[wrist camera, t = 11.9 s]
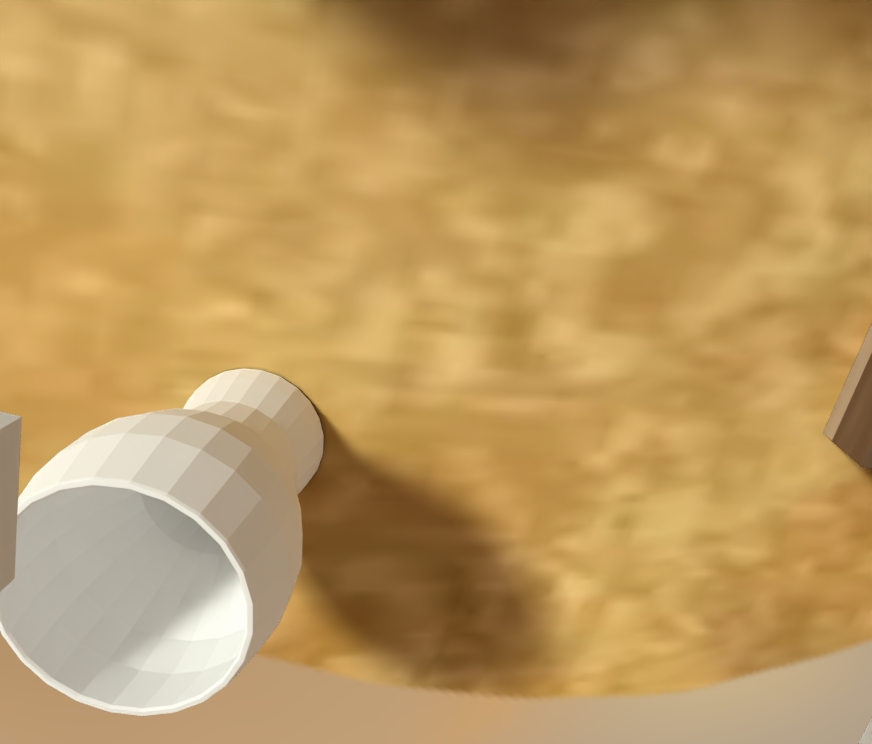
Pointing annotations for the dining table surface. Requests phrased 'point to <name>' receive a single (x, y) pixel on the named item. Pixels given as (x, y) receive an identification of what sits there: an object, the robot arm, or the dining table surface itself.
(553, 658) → the dining table surface
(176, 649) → the cup
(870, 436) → the brown wooden slotted block
